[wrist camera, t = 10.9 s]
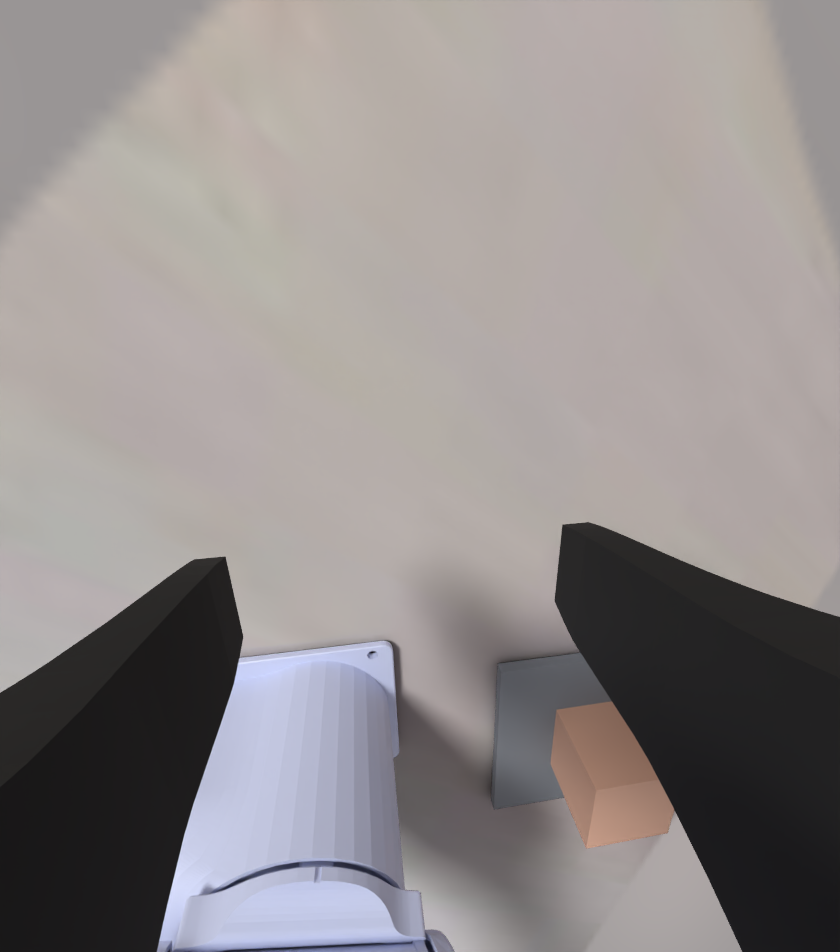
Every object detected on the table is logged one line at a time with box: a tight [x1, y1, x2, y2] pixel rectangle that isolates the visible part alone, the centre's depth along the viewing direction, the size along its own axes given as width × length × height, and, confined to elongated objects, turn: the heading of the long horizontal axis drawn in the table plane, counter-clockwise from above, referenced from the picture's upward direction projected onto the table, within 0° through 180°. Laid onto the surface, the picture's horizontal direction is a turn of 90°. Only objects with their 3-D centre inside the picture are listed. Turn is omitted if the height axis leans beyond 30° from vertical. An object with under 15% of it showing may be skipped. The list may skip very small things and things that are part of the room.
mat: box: [491, 653, 611, 809], centre depth 26 cm, size 11×11×1 cm
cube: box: [550, 701, 674, 849], centre depth 24 cm, size 4×4×4 cm
